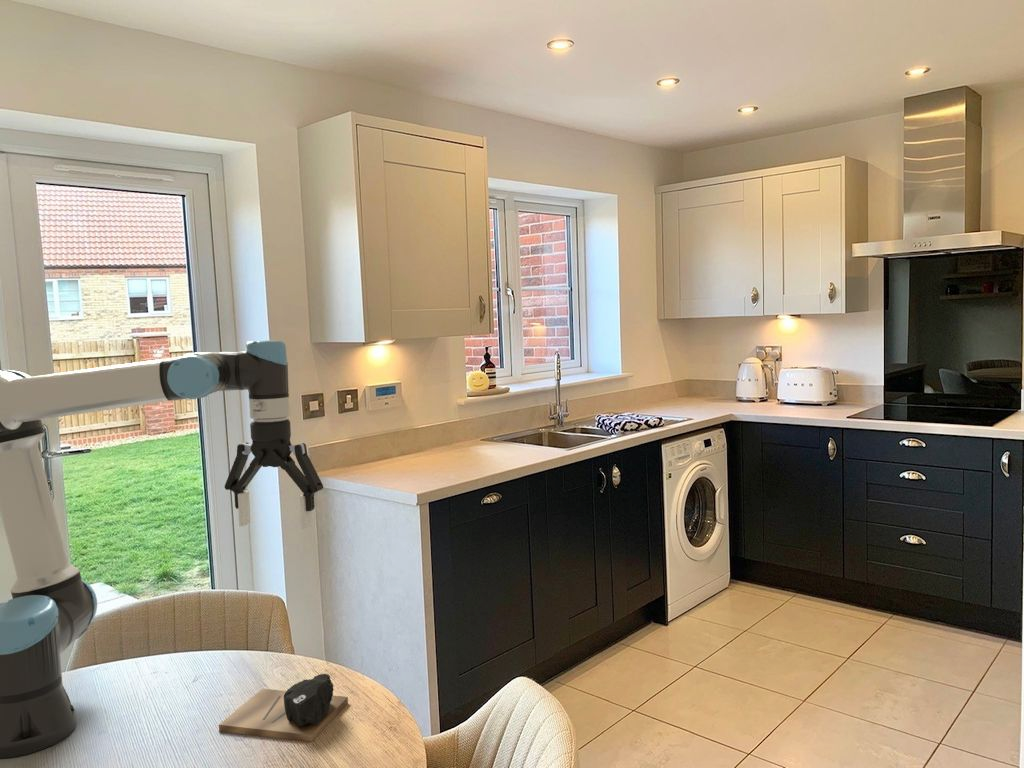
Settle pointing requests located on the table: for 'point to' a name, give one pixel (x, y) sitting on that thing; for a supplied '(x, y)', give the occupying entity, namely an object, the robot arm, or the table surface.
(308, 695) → the rock
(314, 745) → the table surface
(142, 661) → the table surface
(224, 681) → the table surface
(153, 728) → the table surface
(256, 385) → the robot arm
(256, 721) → the board
